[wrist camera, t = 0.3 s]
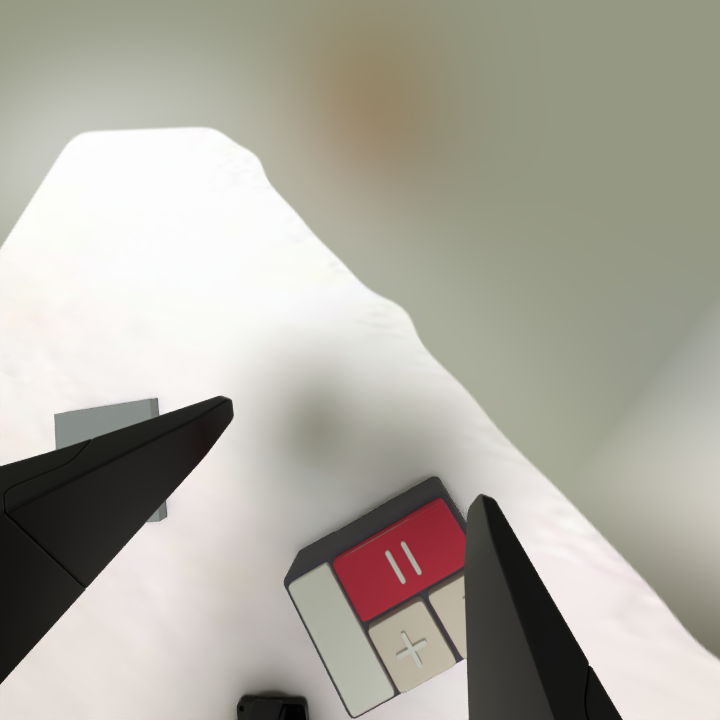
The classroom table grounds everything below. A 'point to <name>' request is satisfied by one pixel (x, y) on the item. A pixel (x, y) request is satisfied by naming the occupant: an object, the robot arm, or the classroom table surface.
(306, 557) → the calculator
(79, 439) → the pad
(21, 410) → the classroom table surface
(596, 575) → the classroom table surface
